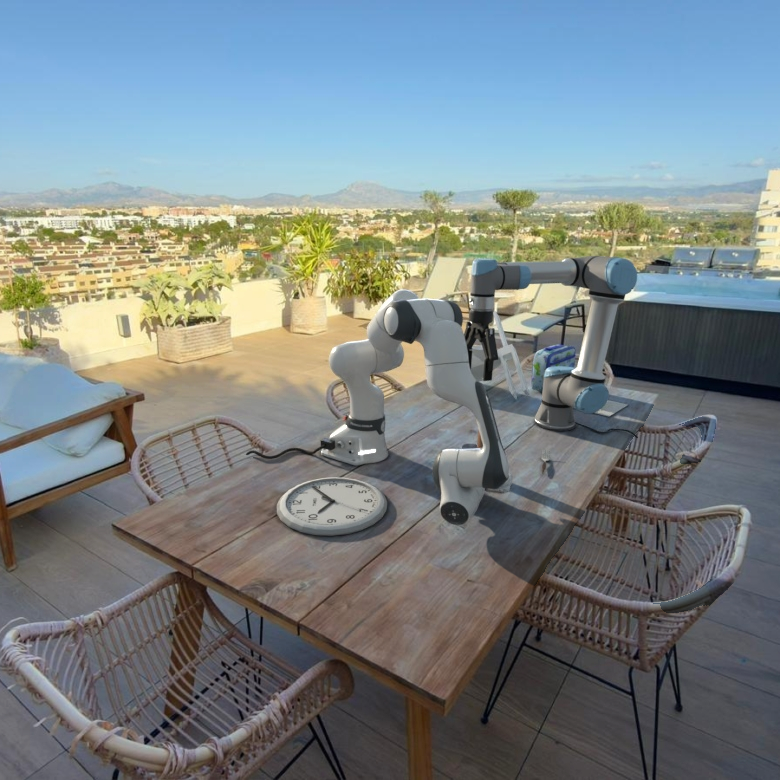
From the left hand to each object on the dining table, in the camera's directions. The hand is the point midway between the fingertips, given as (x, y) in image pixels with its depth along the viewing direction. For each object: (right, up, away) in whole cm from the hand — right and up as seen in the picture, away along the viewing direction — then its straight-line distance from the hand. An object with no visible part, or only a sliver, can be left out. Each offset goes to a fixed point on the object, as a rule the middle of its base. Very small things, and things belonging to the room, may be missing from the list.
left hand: (480, 465), depth 152 cm
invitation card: (+65, +15, +74) cm, 100 cm away
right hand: (+2, +27, +18) cm, 32 cm away
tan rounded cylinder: (+2, -5, +9) cm, 10 cm away
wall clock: (-42, -10, -10) cm, 44 cm away
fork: (+24, -2, +17) cm, 29 cm away
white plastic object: (+15, +21, +91) cm, 95 cm away
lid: (+1, +2, +25) cm, 26 cm away
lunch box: (+51, +22, +98) cm, 112 cm away
